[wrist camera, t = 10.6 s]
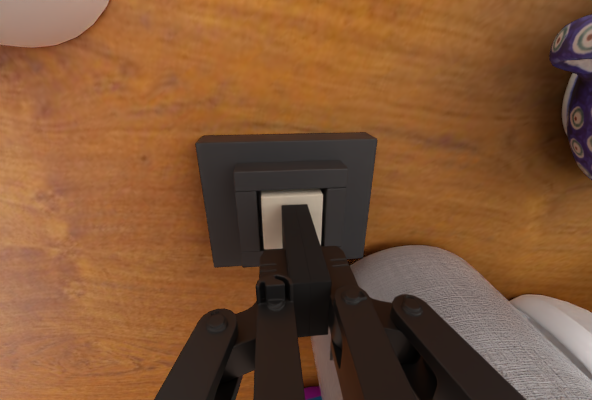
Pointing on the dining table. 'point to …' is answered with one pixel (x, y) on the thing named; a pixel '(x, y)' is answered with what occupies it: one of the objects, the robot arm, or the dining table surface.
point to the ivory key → (273, 212)
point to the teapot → (577, 87)
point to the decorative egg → (312, 393)
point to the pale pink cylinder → (46, 21)
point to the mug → (561, 326)
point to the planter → (463, 321)
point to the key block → (284, 187)
